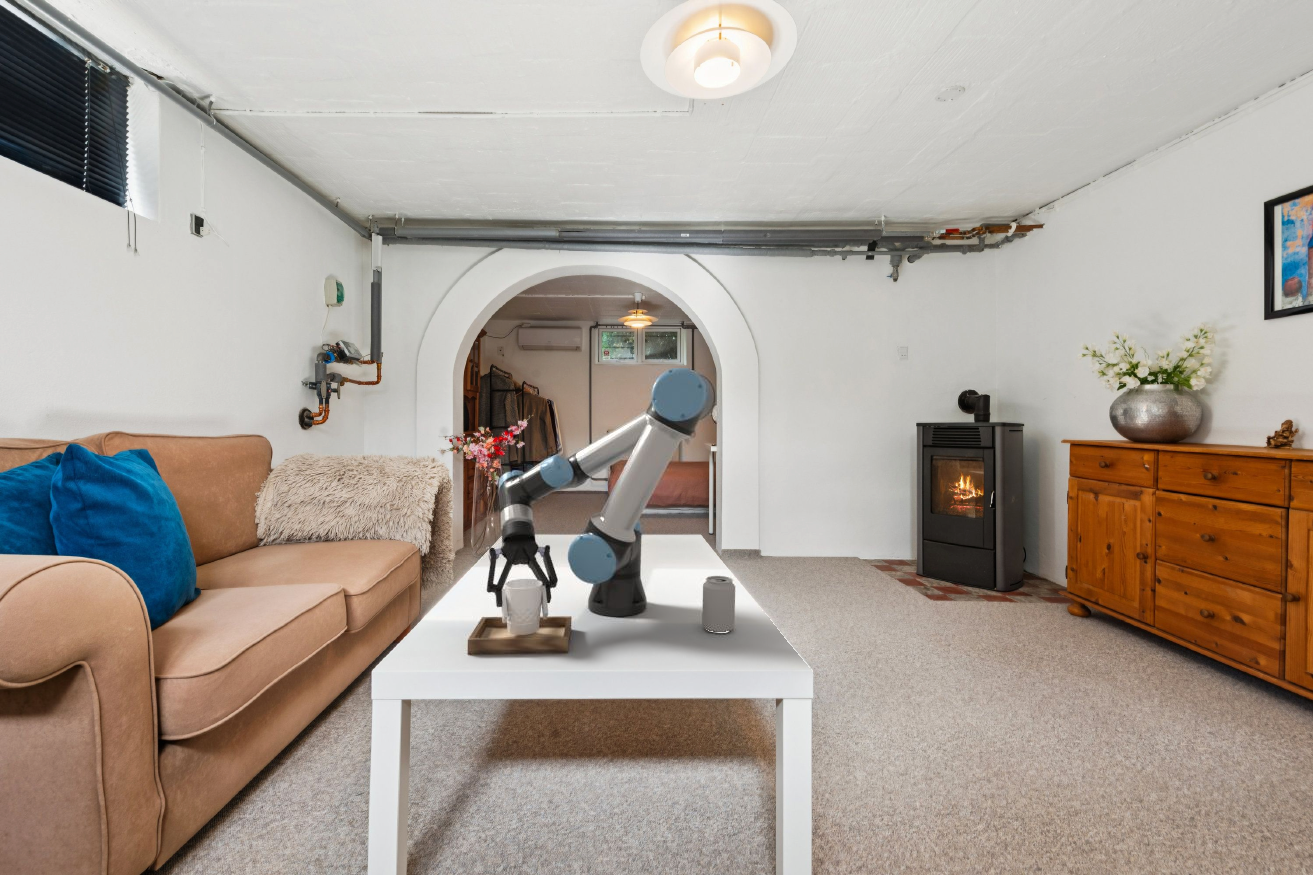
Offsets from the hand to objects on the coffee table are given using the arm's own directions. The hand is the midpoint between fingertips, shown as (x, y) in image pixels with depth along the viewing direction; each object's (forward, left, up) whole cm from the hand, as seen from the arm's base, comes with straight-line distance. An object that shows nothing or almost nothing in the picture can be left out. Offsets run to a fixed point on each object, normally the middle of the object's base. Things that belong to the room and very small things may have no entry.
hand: (525, 617), depth 120 cm
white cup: (+1, -3, -4) cm, 5 cm away
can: (-43, -9, -6) cm, 45 cm away
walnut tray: (+1, -3, -6) cm, 7 cm away
